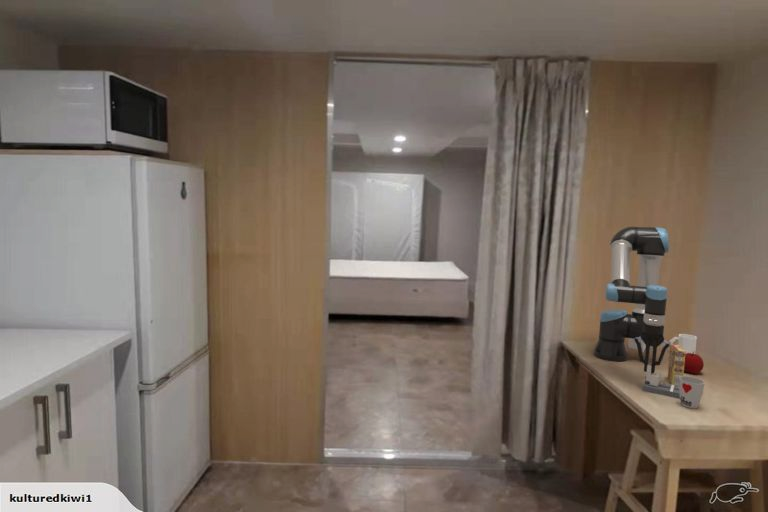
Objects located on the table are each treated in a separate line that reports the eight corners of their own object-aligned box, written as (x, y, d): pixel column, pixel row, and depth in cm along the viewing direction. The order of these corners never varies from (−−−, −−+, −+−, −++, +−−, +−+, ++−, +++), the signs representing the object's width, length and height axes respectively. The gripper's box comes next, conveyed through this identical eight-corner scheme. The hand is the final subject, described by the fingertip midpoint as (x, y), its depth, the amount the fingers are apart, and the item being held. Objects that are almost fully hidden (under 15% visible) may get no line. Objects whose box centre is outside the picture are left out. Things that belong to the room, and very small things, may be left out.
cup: (671, 401, 188) (674, 376, 187) (691, 401, 189) (694, 376, 188) (686, 410, 180) (689, 384, 179) (707, 409, 181) (709, 383, 180)
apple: (704, 372, 223) (706, 351, 222) (700, 377, 216) (702, 355, 215) (681, 367, 229) (683, 346, 228) (676, 371, 222) (678, 350, 221)
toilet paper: (643, 352, 251) (644, 339, 251) (624, 346, 262) (625, 333, 261) (654, 350, 255) (655, 337, 254) (635, 344, 265) (636, 332, 264)
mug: (691, 353, 252) (693, 334, 251) (698, 358, 244) (700, 339, 242) (666, 350, 255) (667, 332, 253) (671, 355, 246) (673, 336, 245)
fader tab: (649, 384, 199) (650, 375, 198) (650, 381, 203) (651, 371, 202) (657, 386, 197) (658, 376, 196) (659, 383, 201) (660, 373, 201)
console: (642, 390, 198) (643, 380, 198) (645, 384, 206) (646, 373, 205) (694, 401, 188) (695, 390, 188) (695, 394, 196) (696, 383, 195)
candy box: (683, 386, 204) (686, 351, 202) (671, 385, 205) (675, 349, 204) (677, 379, 212) (680, 345, 211) (666, 378, 214) (669, 344, 212)
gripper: (634, 322, 199) (629, 378, 201) (671, 328, 191) (665, 386, 194) (637, 319, 205) (632, 373, 208) (672, 324, 198) (667, 381, 200)
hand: (648, 379), depth 201 cm, fingers closed
